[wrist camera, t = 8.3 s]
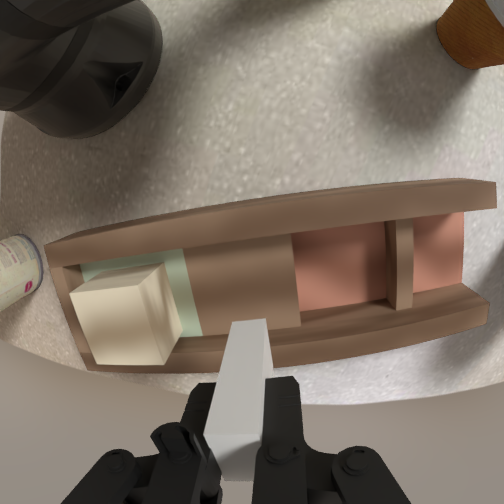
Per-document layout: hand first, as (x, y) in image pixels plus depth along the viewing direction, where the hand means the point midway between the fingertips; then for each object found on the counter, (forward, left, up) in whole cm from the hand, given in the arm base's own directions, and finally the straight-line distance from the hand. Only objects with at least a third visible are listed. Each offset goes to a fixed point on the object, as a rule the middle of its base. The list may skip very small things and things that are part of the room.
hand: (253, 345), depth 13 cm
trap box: (+1, +1, -12) cm, 12 cm away
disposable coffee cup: (-19, +23, -13) cm, 33 cm away
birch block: (+1, -10, -9) cm, 14 cm away
